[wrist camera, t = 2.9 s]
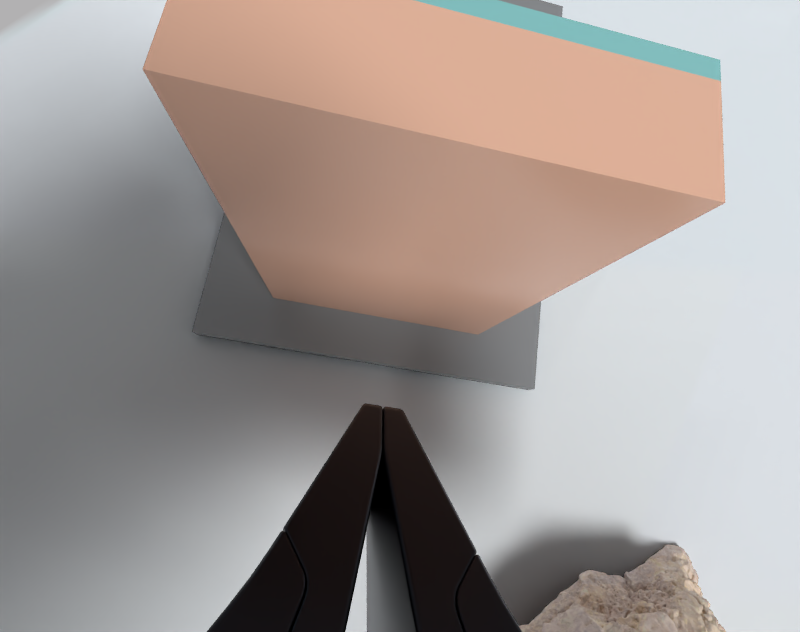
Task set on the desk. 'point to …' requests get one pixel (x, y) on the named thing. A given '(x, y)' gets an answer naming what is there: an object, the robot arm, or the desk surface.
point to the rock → (632, 600)
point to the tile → (436, 147)
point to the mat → (362, 320)
